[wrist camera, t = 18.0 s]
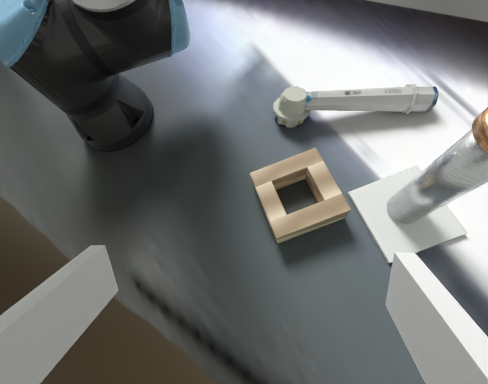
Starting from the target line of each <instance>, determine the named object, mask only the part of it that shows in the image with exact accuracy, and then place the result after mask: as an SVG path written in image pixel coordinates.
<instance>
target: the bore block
mask: <svg viewBox="0 0 488 384" xmlns="http://www.w3.org/2000/svg"><path fill="white" fill-rule="evenodd" d="M250 176H251V179H252V182H253V185H254V188H255V190H256V192H257V195H258V197H259V200H260V202H261V205H262V207H263V210H264V212H265V215H266V217H267V219H268V222H269V224H270V227H271V229H272V232H273V234H274V237H275V239H276V242H277V244H279V243H282V242H284V241H287V240H289V239H292V238H294V237H297V236H300V235H302V234H305V233H307V232H310V231H313V230H315V229H318V228H320V227H323V226H326V225H328V224H331V223H333V222H336V221H339V220H341V219H344V218H345V217H346V216H347V214H348V213H349V212H350V210H351V209H350V207H349V205H348V203H347V202H346V200H345V198H344V196H343V195H342V193H341V191H340V189H339V188H338V186H337V184H336V182H335V181H334V179H333V177H332V175H331V174H330V172H329V170H328V168H327V167H326V165H325V163H324V161H323V160H322V158H321V156H320V154H319V153H318V151H317V149H316V148H313V149H310V150H308V151H305V152H303V153H300V154H298V155H295V156H292V157H290V158H287V159H285V160H282V161H280V162H277V163H274V164H272V165H269V166H267V167H264V168H262V169H259V170H256V171H254V172H251V173H250ZM303 179H306V181H307V183H308V185H309V187H310V189H311V191H312V193H313V195H314V197H315V199H316V201H317V203H316V204H314V205H311V206H308V207H306V208H303V209H301V210H298V211H295V212H293V213H290V214H288V215H286V212H285V210H284V208H283V206H282V203H281V201H280V199H279V197H278V195H277V192H276V190H278V189H280V188H283V187H285V186H288V185H290V184H293V183H296V182H298V181H301V180H303Z"/></svg>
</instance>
